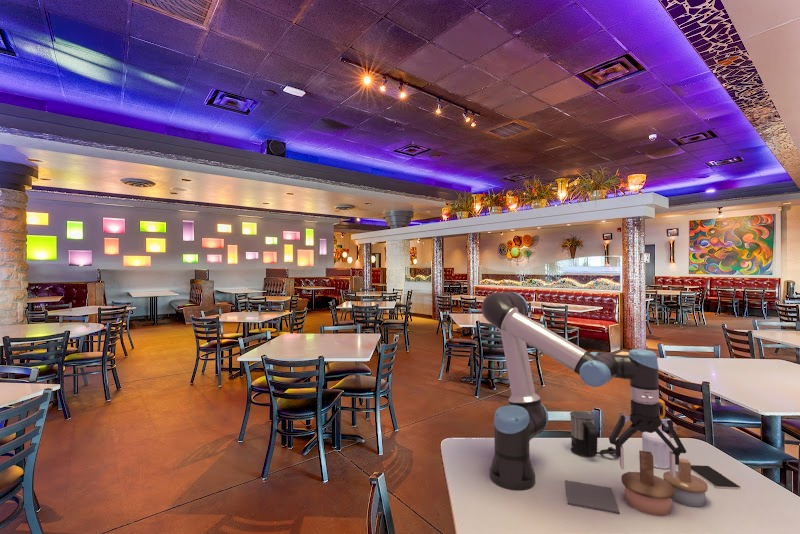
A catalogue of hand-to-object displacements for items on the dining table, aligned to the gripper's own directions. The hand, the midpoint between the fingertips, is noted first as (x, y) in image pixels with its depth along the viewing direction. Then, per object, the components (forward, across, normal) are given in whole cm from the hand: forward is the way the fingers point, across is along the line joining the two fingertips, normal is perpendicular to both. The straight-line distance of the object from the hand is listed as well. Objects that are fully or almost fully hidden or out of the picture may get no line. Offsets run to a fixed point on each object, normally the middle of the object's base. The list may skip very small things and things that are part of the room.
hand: (646, 471), depth 116 cm
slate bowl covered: (+10, +12, +8) cm, 17 cm away
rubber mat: (+10, -16, -2) cm, 19 cm away
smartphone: (+11, +25, +26) cm, 38 cm away
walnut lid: (+5, 0, 0) cm, 5 cm away
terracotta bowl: (+10, 0, 0) cm, 10 cm away
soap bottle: (+10, +10, +31) cm, 34 cm away
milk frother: (+10, -11, +32) cm, 35 cm away
